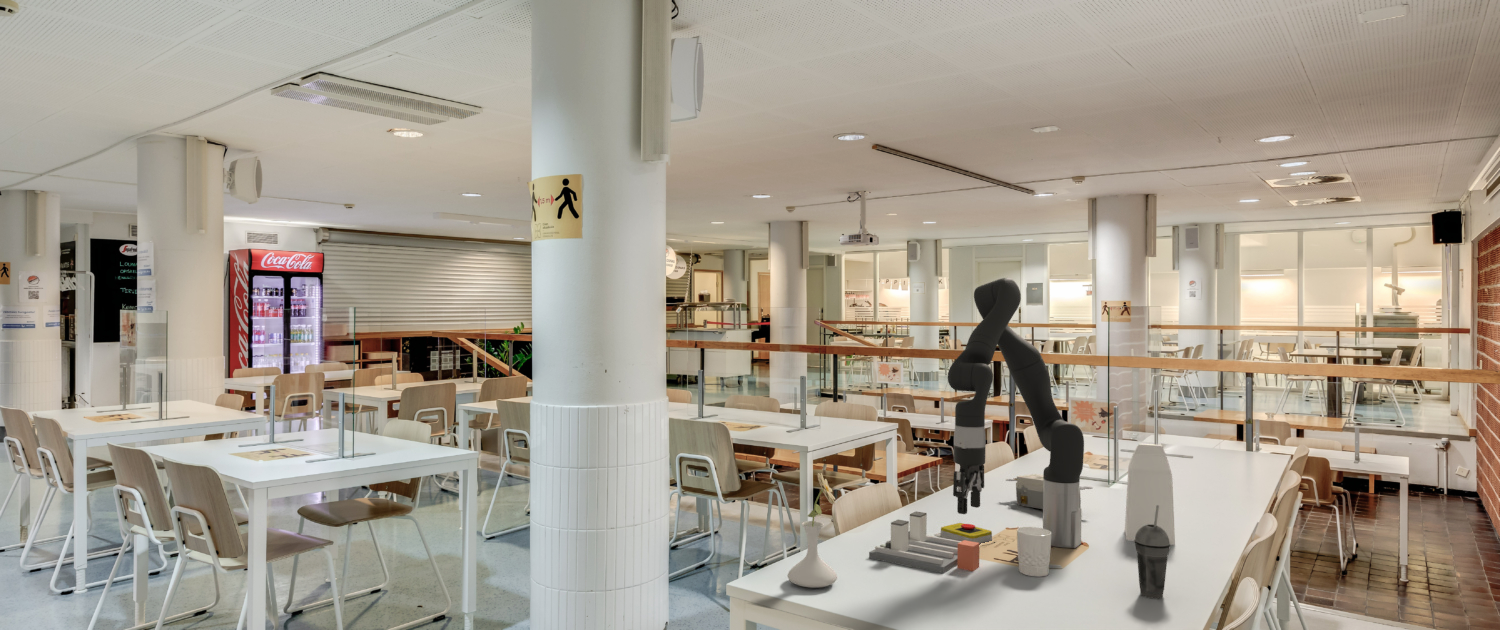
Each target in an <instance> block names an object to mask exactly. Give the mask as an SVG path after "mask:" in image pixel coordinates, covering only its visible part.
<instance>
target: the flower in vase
mask: <svg viewBox="0 0 1500 630" xmlns="http://www.w3.org/2000/svg"><path fill="white" fill-rule="evenodd" d="M817 480H818V482H819V485H820V487H821V489H820V491H819V492H818V495H817V497H816V500H815V501H814V505H813V510H811V511H810V513H809V514H808V515H807V517H808V518H812V520H806V521H803V522H802V523H801V525H802V527H803V528H804V530H805V533H806V538H807V552H806V555H805V557H804V558H803V559H801V560H800V561H799V562H797V563H796V564H795V565H794V566H792V567H791V569H790V570H789V571H788V573H787V579H788V580H789V581H790V582H791V583H792V584H795V585H796V586H800V587H802V588H803V587H804V588H812V589H813V588H814V589H815V588H824V587H828V586H831V585H833V584H834V583H836V581H837V580H838V576H837V572H836V571H835V570H834V569H833V568H832V567H831V566H830V565H829V564H827V563H826V562H825V561H824V560H823V559H822V558H821V557H820V555H819V553H818V542H819V535H820V532H821V530H822V528H823V526H824V525H825V524H824V522H821V521H817V520H815V517H817V516H821V515H822V512H823V511H822V509H821V506H820V505H819V504H817V502H818V500H819V498H820V496H821V494H822V493H823V494H824V496H825V498H826V499H827V501H828V503H830V504H831V505H835V504H836V502H835V501H836V498H835V496H834V495H833V489H832V488H831V487H830V485H829V483H828V480H827V478H824V476H823V473H822V472H821V473H819V472H818V473H817Z"/></svg>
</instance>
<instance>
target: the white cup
mask: <svg viewBox="0 0 1500 630" xmlns="http://www.w3.org/2000/svg"><path fill="white" fill-rule="evenodd" d="M1016 542H1017V543H1016V546H1017V560H1018V571H1019V572H1020V574H1022V575H1025V576H1029V577H1036V578H1037V577H1038V578H1039V577H1040V578H1041V577H1046V576H1048V575H1049V573H1050V562H1051V561H1050V559H1051V557H1050V556H1051V549H1052V548H1051V547H1052V546H1051V532H1050V531H1049V530H1046V529H1043V527H1034V526H1023V527H1018V528H1017V529H1016Z"/></svg>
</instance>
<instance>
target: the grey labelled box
mask: <svg viewBox="0 0 1500 630" xmlns="http://www.w3.org/2000/svg"><path fill="white" fill-rule="evenodd" d="M1043 479H1044V478H1043V474H1037V473H1036V474H1034V473H1032V474H1026V475H1025V474H1024V475H1018V476H1016V477H1015V478H1014V477H1013V478H1005V482H1006V481H1007V482H1015V490H1016V491H1015V493H1016V495H1015V496H1016V505H1018V506H1019V505H1020V506H1021V507H1022V506H1023V507H1028V508H1035V509H1040V510H1043ZM1091 489H1093V487H1092V486H1086V485H1085V486H1081V485H1079V508H1081V507H1082V506H1081V503H1082V502H1081V501H1082V499H1081V491H1083V490H1091ZM1081 509H1082V508H1081Z"/></svg>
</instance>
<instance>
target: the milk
mask: <svg viewBox="0 0 1500 630" xmlns="http://www.w3.org/2000/svg"><path fill="white" fill-rule="evenodd" d="M1126 486H1127V487H1126V501H1125V502H1126V503H1125V504H1126V505H1125V517H1124V518H1125V519H1124V521H1125V522H1124V535H1125V538H1126V541H1131V542H1134V540H1135V536H1136V533H1137V531H1138V530H1139V529H1140V528H1141V527H1143V526H1145V525H1154V521H1155V513H1156V505H1159V509H1158V517H1157V526H1159V527H1160V528H1162V529H1163V530H1164V531H1165V532H1166V534H1167V535H1168V538H1169V542H1170V546H1175V545H1176V535H1175V532H1176V531H1175V530H1176V529H1175V511H1174V509H1175V507H1174V490H1173V489H1174V488H1173V487H1174V486H1173V473H1172V470H1171V467H1170V464H1169V460H1168V456H1167V454H1166V452H1165V450H1164V447H1163V445H1162V444H1153V443H1152V444H1151V443H1138V444H1137V446H1136V448H1135V449H1134V452H1133V453H1132V456H1131V459H1130V461H1129V464H1128V467H1127V485H1126Z"/></svg>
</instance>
